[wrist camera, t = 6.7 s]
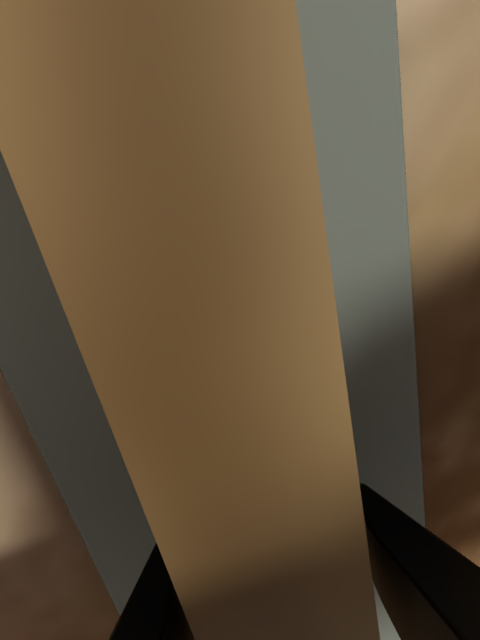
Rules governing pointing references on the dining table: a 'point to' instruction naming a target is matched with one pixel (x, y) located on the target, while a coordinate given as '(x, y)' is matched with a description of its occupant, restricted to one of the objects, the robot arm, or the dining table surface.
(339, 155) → the mat
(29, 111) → the rail
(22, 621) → the dining table surface
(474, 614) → the robot arm
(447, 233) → the dining table surface
